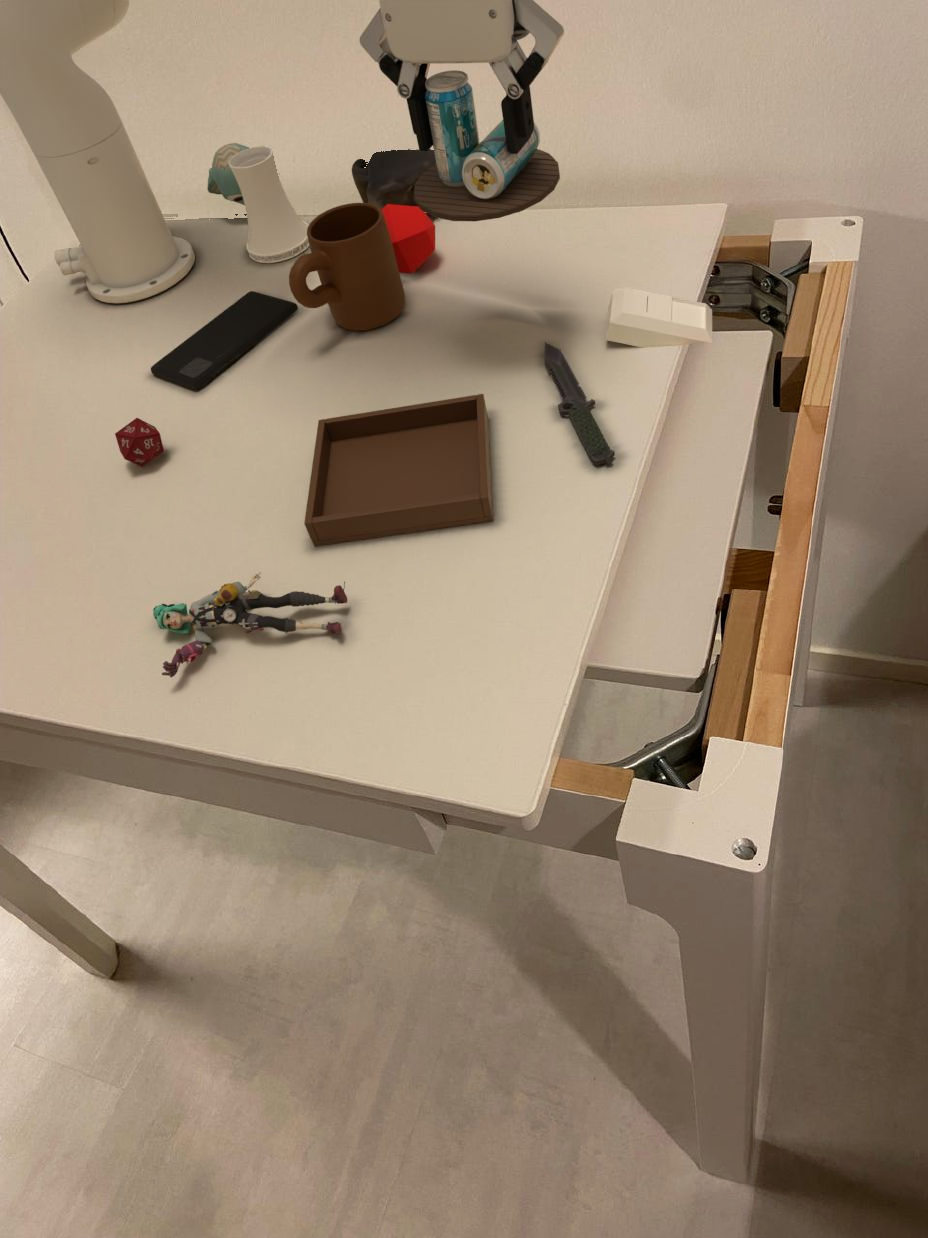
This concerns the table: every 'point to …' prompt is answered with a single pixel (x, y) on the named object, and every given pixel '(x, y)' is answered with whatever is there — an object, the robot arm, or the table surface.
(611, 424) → the table surface
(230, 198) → the stuffed animal
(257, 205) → the vase
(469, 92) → the blue cans and disc
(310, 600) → the figurine
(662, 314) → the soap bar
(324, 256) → the mug
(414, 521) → the tray
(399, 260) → the red faceted polyhedron
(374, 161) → the sculpture
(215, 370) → the smartphone
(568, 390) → the knife
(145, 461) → the dice
